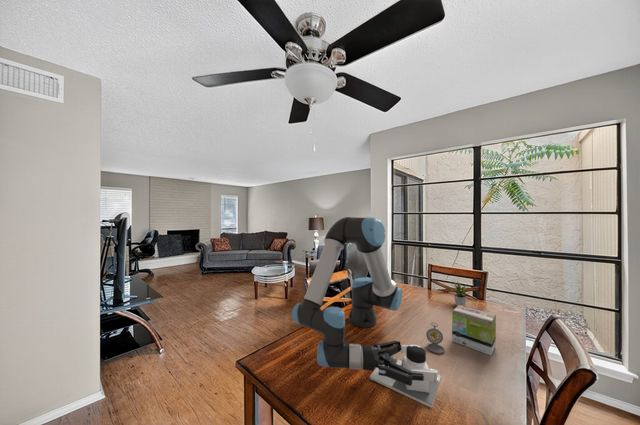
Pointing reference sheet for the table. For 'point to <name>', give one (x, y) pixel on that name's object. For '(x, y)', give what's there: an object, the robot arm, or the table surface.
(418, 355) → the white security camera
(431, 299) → the table surface
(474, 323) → the tea box
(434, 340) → the pocket watch
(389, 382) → the board
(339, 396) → the table surface
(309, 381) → the table surface
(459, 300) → the house plant
